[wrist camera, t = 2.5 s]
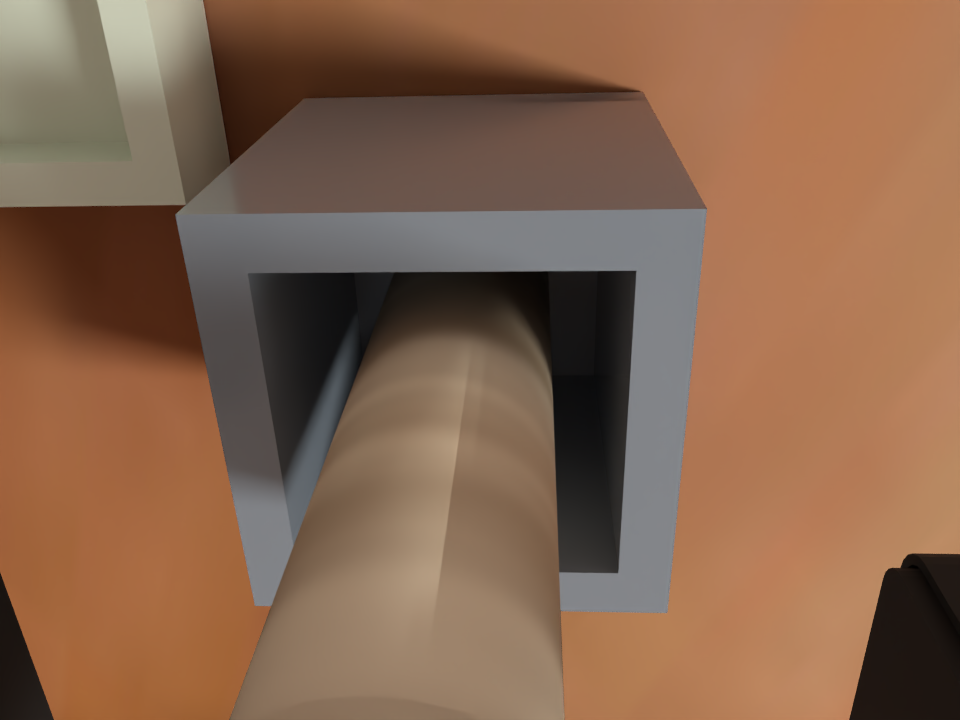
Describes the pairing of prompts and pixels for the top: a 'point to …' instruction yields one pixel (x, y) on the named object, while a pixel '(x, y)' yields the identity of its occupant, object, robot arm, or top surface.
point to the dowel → (429, 523)
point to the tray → (107, 103)
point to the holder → (458, 248)
